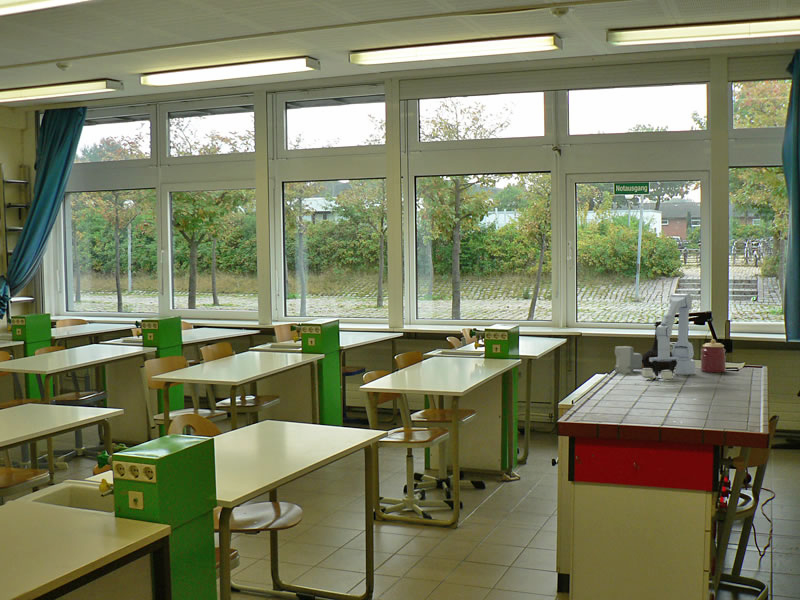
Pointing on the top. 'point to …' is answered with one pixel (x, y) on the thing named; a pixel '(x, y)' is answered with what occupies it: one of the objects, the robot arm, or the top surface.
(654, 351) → the glass bottle
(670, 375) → the slider
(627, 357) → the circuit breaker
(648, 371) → the slider
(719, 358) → the canister
